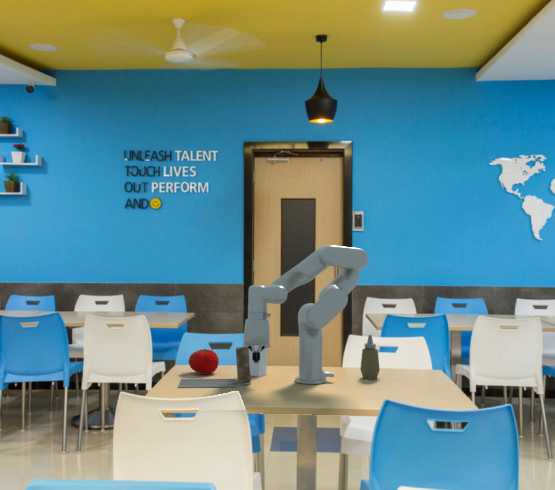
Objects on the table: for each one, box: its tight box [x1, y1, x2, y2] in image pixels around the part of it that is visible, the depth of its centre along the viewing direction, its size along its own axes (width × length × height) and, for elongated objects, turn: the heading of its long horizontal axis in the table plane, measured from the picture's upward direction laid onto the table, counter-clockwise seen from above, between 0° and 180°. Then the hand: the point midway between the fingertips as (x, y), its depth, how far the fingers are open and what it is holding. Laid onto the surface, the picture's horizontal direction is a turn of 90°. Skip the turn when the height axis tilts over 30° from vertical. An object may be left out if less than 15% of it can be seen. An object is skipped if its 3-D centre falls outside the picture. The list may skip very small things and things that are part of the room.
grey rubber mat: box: [177, 378, 236, 389], centre depth 231 cm, size 22×14×1 cm, turn 94°
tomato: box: [188, 348, 220, 375], centre depth 253 cm, size 13×12×11 cm
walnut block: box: [235, 346, 252, 386], centre depth 232 cm, size 5×5×14 cm
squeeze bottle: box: [360, 334, 381, 380], centre depth 245 cm, size 8×8×18 cm
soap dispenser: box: [249, 345, 268, 378], centre depth 250 cm, size 6×6×22 cm
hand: (256, 362), depth 233 cm, fingers closed
